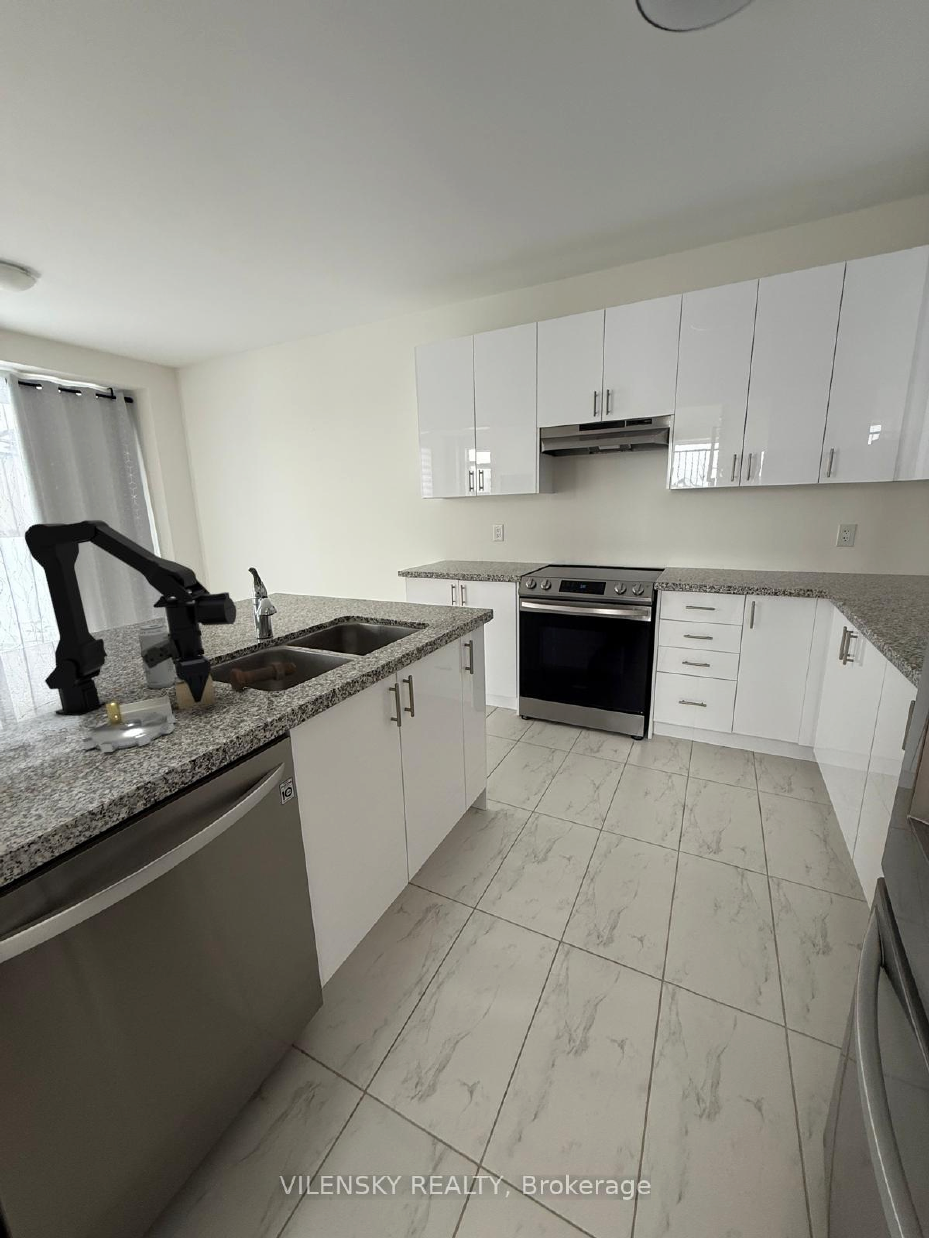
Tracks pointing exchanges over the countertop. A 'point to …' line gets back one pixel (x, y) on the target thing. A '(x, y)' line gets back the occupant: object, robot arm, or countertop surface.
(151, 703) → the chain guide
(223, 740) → the countertop surface
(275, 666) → the bolt
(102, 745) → the sprocket
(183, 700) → the link
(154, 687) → the energy drink can
